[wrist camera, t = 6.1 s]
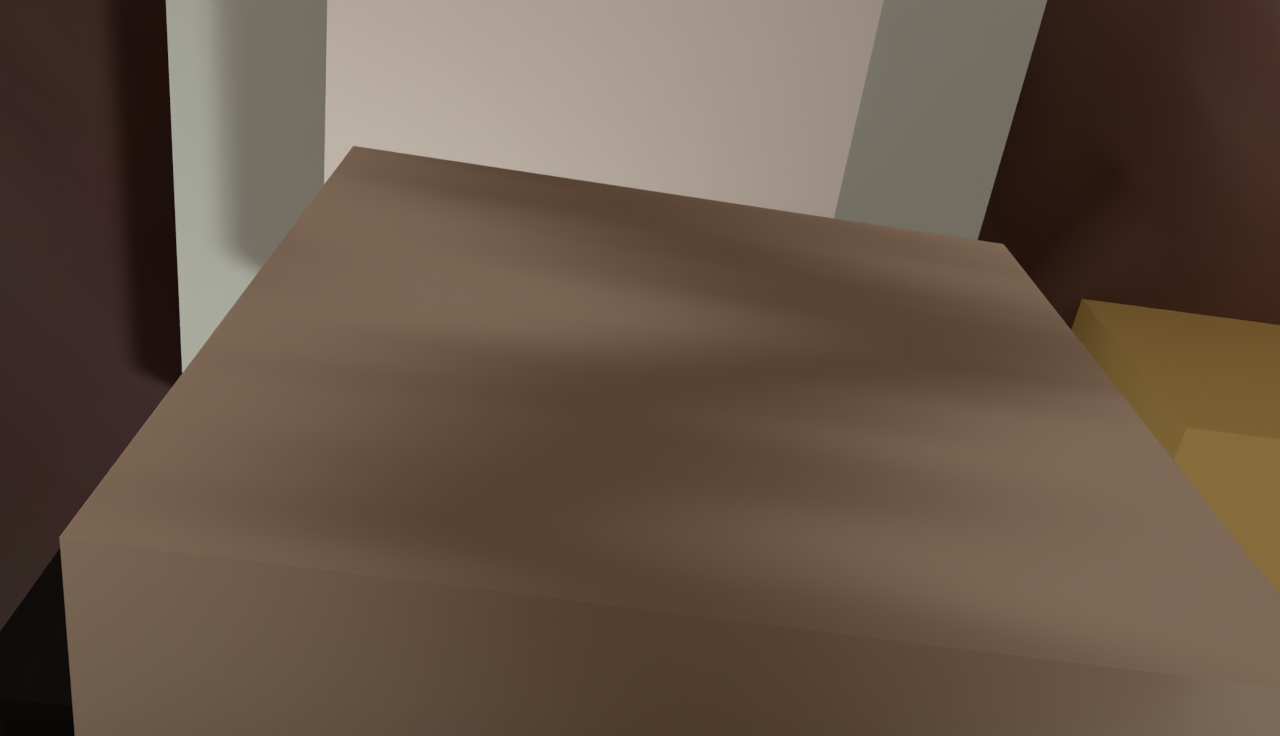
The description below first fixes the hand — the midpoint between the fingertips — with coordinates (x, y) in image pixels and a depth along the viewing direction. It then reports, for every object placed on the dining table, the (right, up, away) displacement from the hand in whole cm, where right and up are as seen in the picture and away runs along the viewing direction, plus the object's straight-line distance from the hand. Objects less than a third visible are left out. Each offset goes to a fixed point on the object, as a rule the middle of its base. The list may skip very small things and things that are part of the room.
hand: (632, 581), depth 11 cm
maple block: (0, +1, +2) cm, 2 cm away
